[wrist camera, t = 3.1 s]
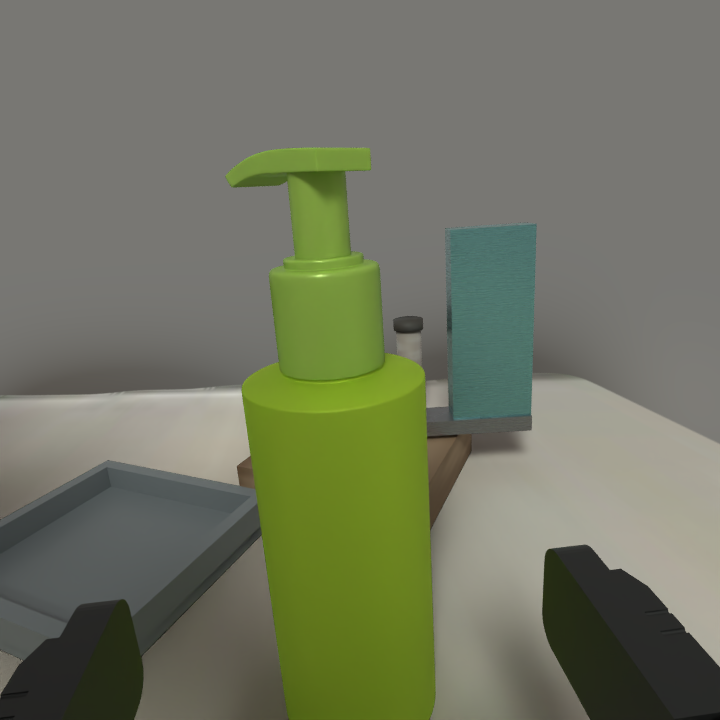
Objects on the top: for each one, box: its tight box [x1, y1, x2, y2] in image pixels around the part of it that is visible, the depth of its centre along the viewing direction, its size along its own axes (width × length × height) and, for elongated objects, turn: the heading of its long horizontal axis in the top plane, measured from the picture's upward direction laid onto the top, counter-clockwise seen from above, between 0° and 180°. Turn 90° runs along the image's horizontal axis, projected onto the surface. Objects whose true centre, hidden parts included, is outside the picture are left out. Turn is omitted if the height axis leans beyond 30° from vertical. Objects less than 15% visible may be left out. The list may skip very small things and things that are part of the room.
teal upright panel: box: [426, 223, 536, 436], centre depth 34 cm, size 13×4×13 cm, turn 90°
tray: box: [0, 460, 262, 660], centre depth 29 cm, size 14×13×2 cm
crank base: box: [237, 316, 471, 529], centre depth 38 cm, size 12×18×9 cm
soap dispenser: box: [225, 148, 435, 720], centre depth 18 cm, size 6×7×20 cm
